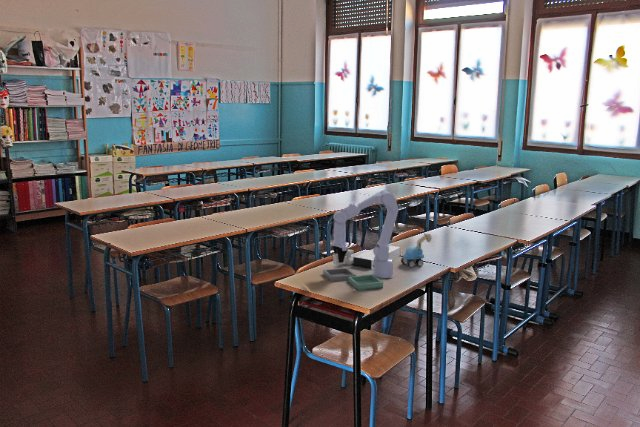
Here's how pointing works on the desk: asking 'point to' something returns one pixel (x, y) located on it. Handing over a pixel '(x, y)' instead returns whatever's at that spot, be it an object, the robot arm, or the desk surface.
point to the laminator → (368, 257)
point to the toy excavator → (415, 253)
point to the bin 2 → (365, 282)
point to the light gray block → (335, 259)
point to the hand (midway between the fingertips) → (339, 261)
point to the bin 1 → (338, 274)
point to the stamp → (349, 257)
